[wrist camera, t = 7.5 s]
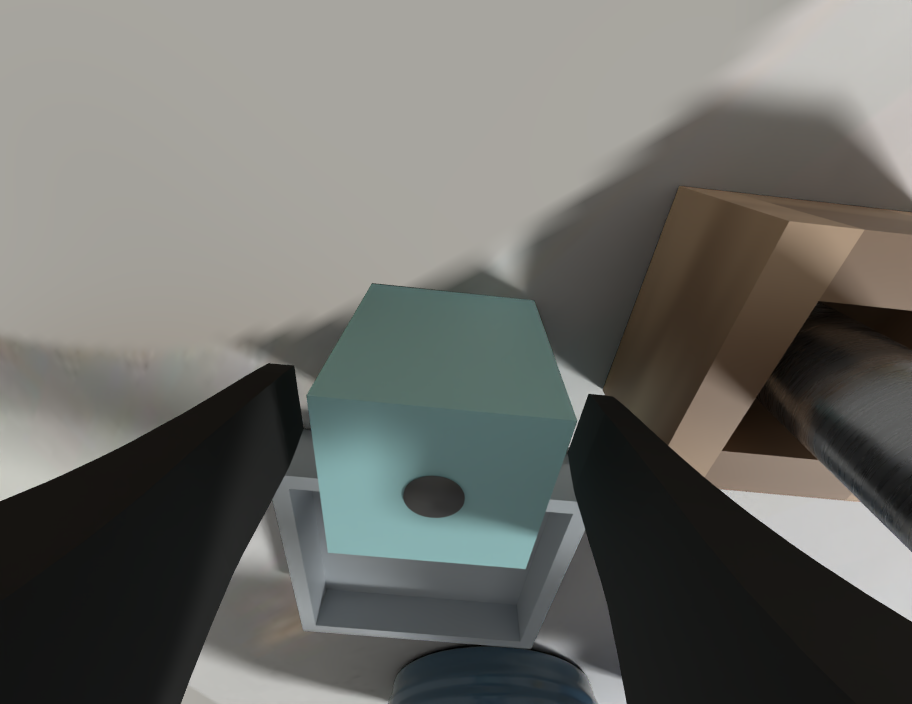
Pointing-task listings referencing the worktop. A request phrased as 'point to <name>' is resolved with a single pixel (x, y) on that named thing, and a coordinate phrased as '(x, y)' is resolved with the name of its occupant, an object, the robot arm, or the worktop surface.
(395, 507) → the teal block
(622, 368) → the brown wooden square frame
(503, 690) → the canister
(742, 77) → the worktop surface
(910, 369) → the cylinder
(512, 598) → the tray
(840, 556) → the worktop surface
